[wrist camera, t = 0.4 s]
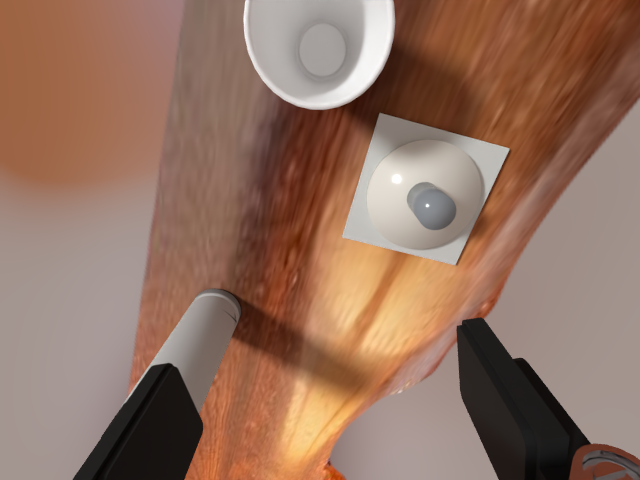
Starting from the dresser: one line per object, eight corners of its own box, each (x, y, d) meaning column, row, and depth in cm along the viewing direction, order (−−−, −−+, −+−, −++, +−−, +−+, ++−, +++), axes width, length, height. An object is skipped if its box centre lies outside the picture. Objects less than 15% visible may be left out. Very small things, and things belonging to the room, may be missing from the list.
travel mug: (250, 299, 43) (189, 449, 24) (230, 334, 45) (160, 495, 27) (205, 277, 42) (106, 417, 23) (187, 315, 44) (84, 468, 26)
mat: (379, 112, 34) (380, 112, 33) (507, 147, 34) (509, 148, 34) (342, 235, 39) (342, 237, 38) (453, 263, 40) (455, 265, 39)
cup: (375, 102, 33) (395, 103, 23) (278, 111, 34) (255, 115, 24) (373, -18, 29) (396, -80, 19) (264, -6, 30) (229, -60, 20)
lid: (386, 125, 34) (397, 130, 28) (496, 155, 34) (528, 166, 29) (353, 231, 38) (356, 253, 33) (450, 255, 39) (470, 281, 33)
